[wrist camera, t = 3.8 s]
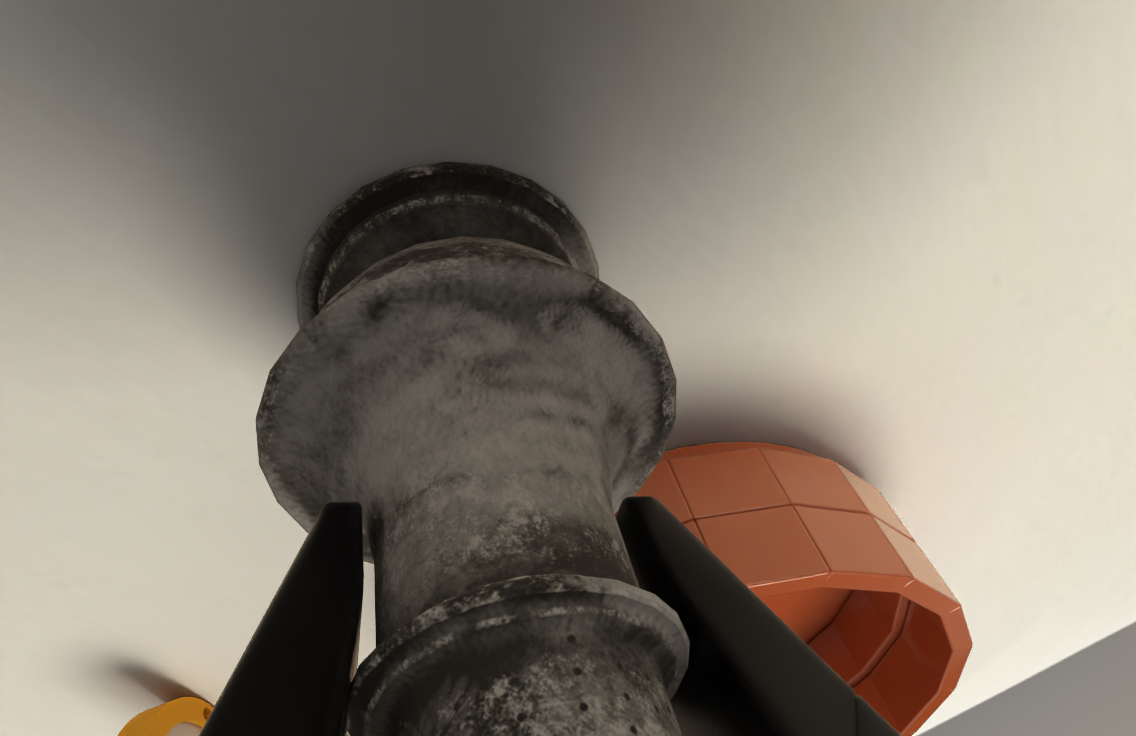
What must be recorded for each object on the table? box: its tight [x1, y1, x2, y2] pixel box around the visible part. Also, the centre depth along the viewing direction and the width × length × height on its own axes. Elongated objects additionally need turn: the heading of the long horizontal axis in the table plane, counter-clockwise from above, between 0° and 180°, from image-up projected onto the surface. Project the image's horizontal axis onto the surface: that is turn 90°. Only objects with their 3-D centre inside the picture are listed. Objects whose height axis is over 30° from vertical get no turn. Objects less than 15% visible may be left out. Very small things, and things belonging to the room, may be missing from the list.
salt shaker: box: [256, 162, 690, 736], centre depth 9 cm, size 6×6×12 cm
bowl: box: [614, 441, 973, 736], centre depth 19 cm, size 12×12×4 cm
